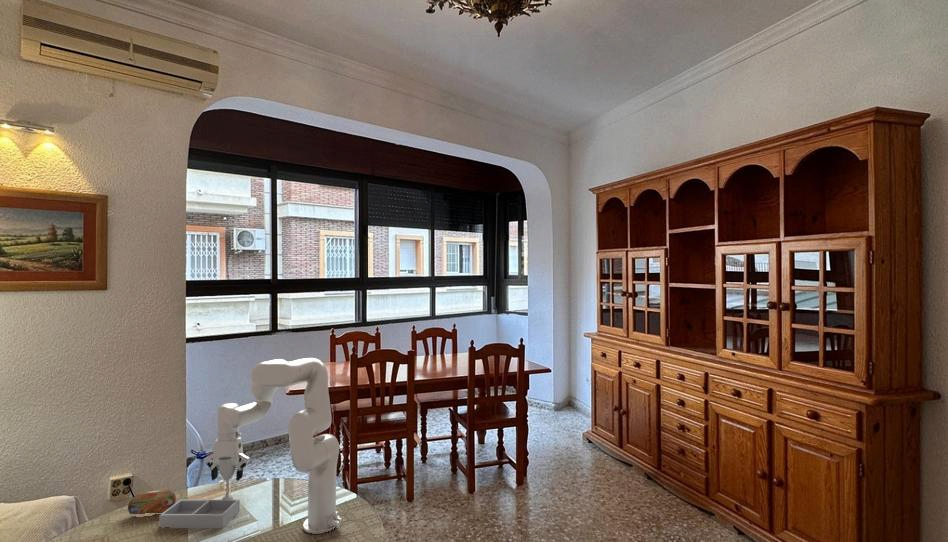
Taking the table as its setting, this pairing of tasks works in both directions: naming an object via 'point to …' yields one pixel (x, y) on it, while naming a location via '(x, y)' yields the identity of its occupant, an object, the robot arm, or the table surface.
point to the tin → (151, 502)
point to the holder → (200, 513)
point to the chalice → (226, 475)
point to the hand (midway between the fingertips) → (226, 479)
